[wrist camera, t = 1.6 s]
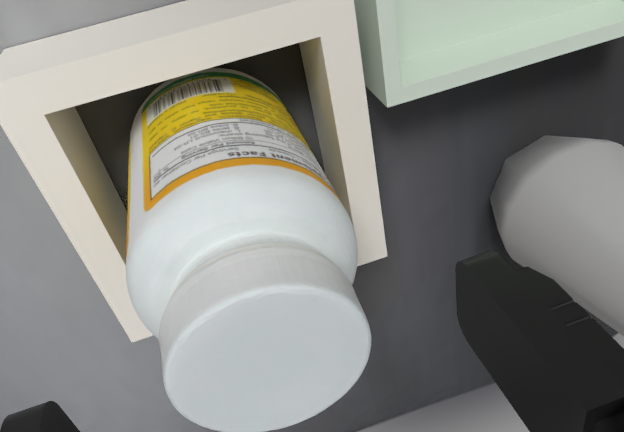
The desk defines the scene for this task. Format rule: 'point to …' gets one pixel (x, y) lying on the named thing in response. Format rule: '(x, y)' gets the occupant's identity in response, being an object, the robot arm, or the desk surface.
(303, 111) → the desk surface
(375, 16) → the tray
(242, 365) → the supplement bottle
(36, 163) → the white square frame
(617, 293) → the salt shaker
